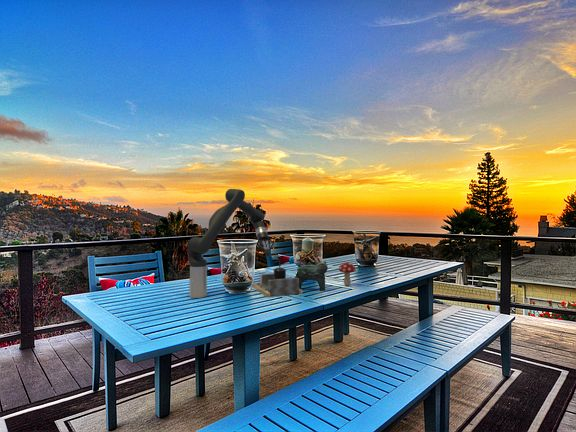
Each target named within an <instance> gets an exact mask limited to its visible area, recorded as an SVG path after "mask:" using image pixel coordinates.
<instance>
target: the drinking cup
mask: <svg viewBox="0 0 576 432" xmlns="http://www.w3.org/2000/svg"><path fill="white" fill-rule="evenodd" d="M278 262H279V263H278V267H275V268H273V269H272V270H273V273H274V278H275V279H285V273H286V272H287V269H286V268H284V267H281V258H279V259H278ZM286 274H287V273H286Z"/></svg>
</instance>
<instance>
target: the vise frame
mask: <svg viewBox="0 0 576 432" xmlns="http://www.w3.org/2000/svg"><path fill="white" fill-rule="evenodd" d="M252 283H253V284H252V286H251V288H253V289H254V290H256V291H257V292H258V293H260V294H262V295H263V296H264V297H266V298H271V297H283V296H292V295H302V294H303V289H302V288H301V289H299V278H295V277H286V279H274V280H268V289H263V288H261V287H260V281H258V282H252ZM267 290H268V291H267Z"/></svg>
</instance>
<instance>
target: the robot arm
mask: <svg viewBox="0 0 576 432" xmlns="http://www.w3.org/2000/svg"><path fill="white" fill-rule="evenodd" d="M245 198H246V194H245V191H244V190H243V189H240V188H228V189H227V190H226V191H225V200H226V201H227V204H225V205H223V206H222V207H220V208H218V209H217V210H216V211H214V212H213V214H212V215H211V217H210V218H209V221H208V228H207V231H206V232H205V233H204V234H203V236H202V237H199V236H198V237H197V236H196V237H195V236H194V237H191V238H190V239H189V241H188V242H187V243H188V244H187V257H188V263H189V289H188V290H189V298H191V299H201V298H205V297H207V296H208V284H207V283H208V274H207V273H208V271H207V270H208V267H207V266H208V264H207V263H208V261H207V260H206V259H205V258H204V257H203V256H202V255H204V254H206V253H208V251H209V250H210V249H211V247H212V245H213V243H214V241H215V240H216V239H217V236H218V235H219V234H220V232H221V230H222V229H223V228H224V226H225V225H227V222H228V221H229V219H230V218H231V216H232V215H233V214H234V213H235V211H236V210H238V209H239V210H241V212H243V213H244V214H245V215H246V216H247V217H248V218H249V221H250V222H251V224H252V225H253V227H254V231H255V235H256V238H257V243H258V245H257V247H256V248H257V249H259V250H260V251H261V252H264V255H265V256H266V257H270V255H271V250H272V249H273V247H274V245H275V242H271V240H270V237H269V233H268V231H267V229H266V225H265V223H264V221H263V220H264V219H265V214H264V213H263V212H262V211H261V210H259V209H256V208H255V207H254V206H253V205H252V204H251V203H249V202H246V200H245ZM258 241H259V242H258Z"/></svg>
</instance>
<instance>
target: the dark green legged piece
mask: <svg viewBox="0 0 576 432" xmlns="http://www.w3.org/2000/svg"><path fill="white" fill-rule="evenodd" d="M311 260H314V257H313V258H311ZM315 260H317V261H316V264H311V263H309V262H302V263H300V264H299V265H298V267H297V270H296V273H295V277H294V278H299V289H301V290H302V285H303V283H304V282H305V281H308V280H309V281H310V280H311V281H316V282H317V284H318V287H319V291H320V292H325V291H326V275H325V274H326V273H327V271H328V264H327V261H326V260H324V261H323V262H319V261H318V258H316V257H315Z"/></svg>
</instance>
